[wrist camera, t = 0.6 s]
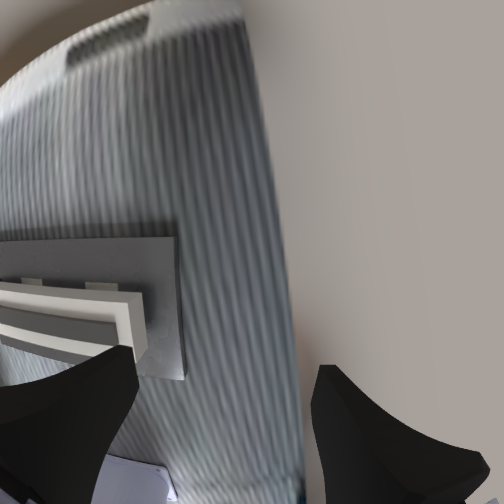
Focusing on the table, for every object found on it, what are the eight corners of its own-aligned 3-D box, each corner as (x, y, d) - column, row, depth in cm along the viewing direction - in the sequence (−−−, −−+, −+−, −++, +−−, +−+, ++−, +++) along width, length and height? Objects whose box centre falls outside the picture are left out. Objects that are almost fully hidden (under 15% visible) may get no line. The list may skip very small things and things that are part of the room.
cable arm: (-13, 317, 17) (-31, 325, 15) (-20, 279, 17) (-39, 284, 14) (148, 347, 18) (133, 366, 15) (141, 292, 17) (124, 305, 14)
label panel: (8, 339, 20) (-4, 347, 18) (-9, 241, 19) (-23, 243, 17) (187, 372, 21) (181, 387, 18) (177, 235, 19) (168, 238, 17)
